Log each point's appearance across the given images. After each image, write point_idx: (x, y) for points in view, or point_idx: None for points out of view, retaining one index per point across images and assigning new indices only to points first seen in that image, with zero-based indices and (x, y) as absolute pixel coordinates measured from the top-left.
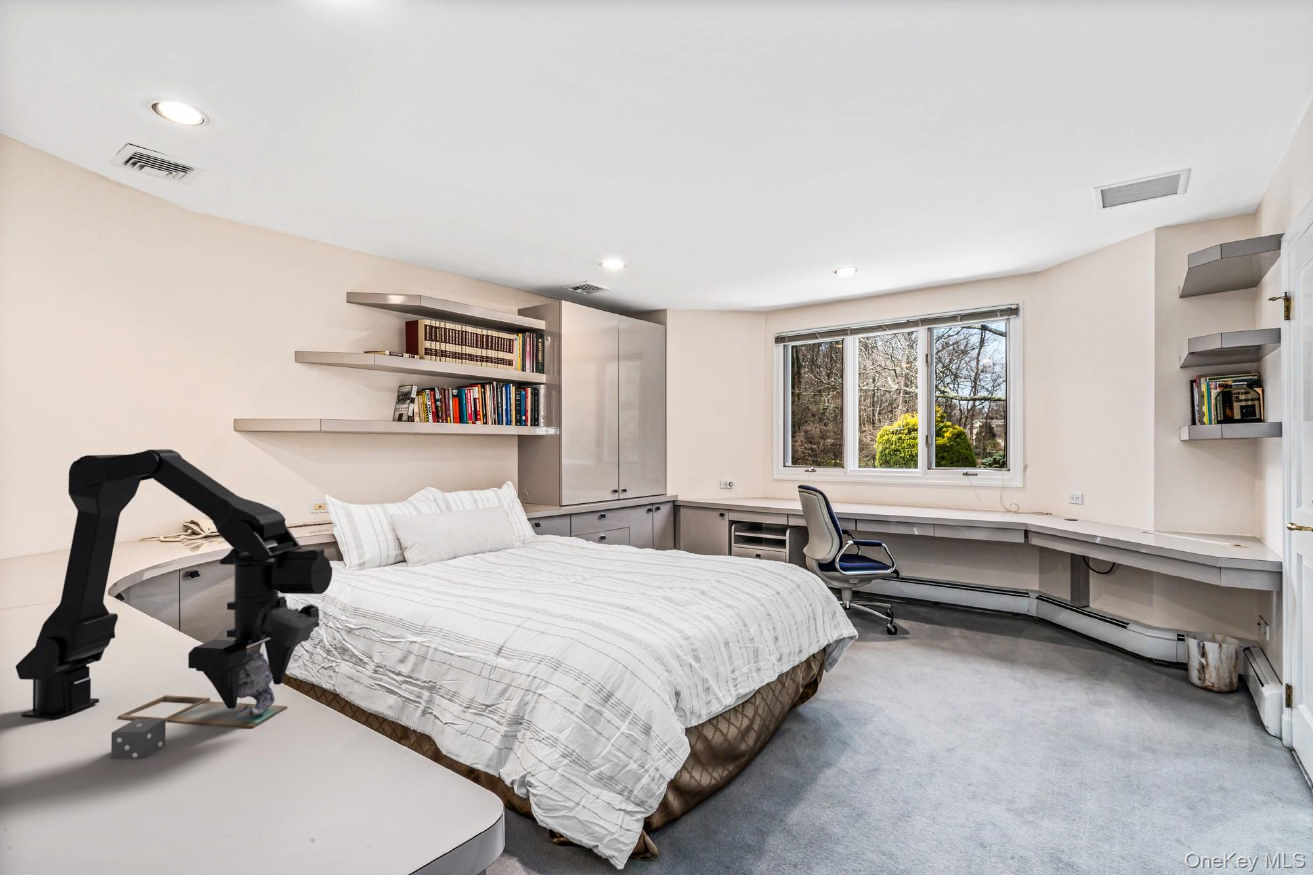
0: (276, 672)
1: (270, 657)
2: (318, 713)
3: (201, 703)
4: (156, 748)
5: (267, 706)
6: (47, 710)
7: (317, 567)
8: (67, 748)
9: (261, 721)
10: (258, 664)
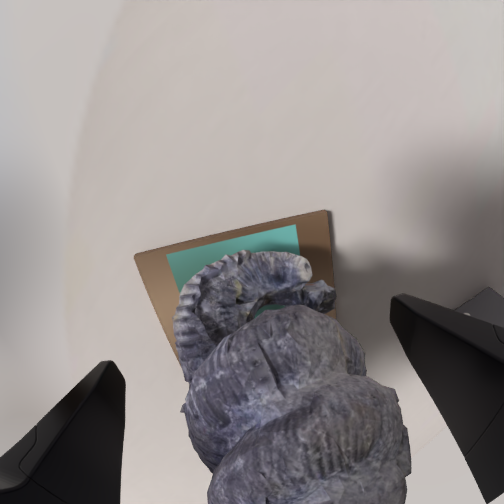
0: (106, 416)
1: (110, 498)
2: (119, 81)
3: None
4: (469, 310)
5: (241, 259)
6: None
7: None
8: (428, 421)
9: (282, 220)
10: (344, 481)
